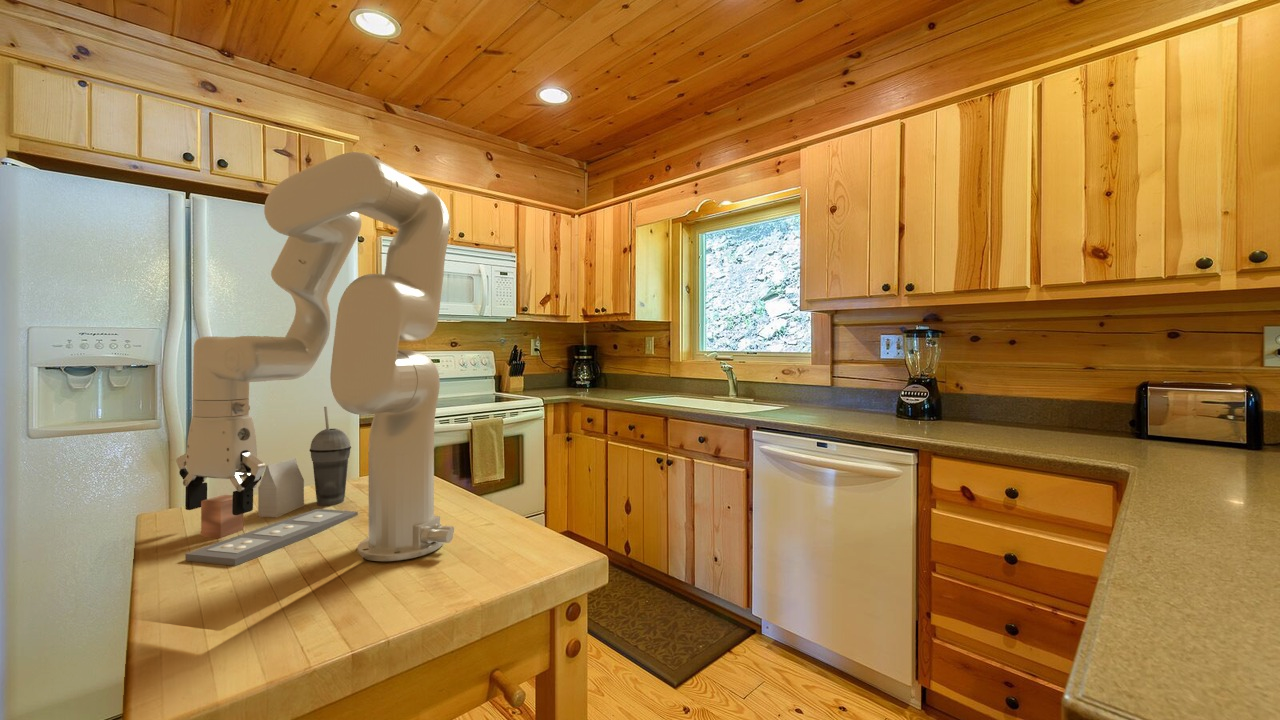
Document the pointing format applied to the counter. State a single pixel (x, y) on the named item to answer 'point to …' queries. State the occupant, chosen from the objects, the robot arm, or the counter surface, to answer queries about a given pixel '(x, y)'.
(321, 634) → the counter surface
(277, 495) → the gable top carton
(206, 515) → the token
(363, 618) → the counter surface
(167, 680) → the counter surface
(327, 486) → the beverage cup
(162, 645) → the counter surface
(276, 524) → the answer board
